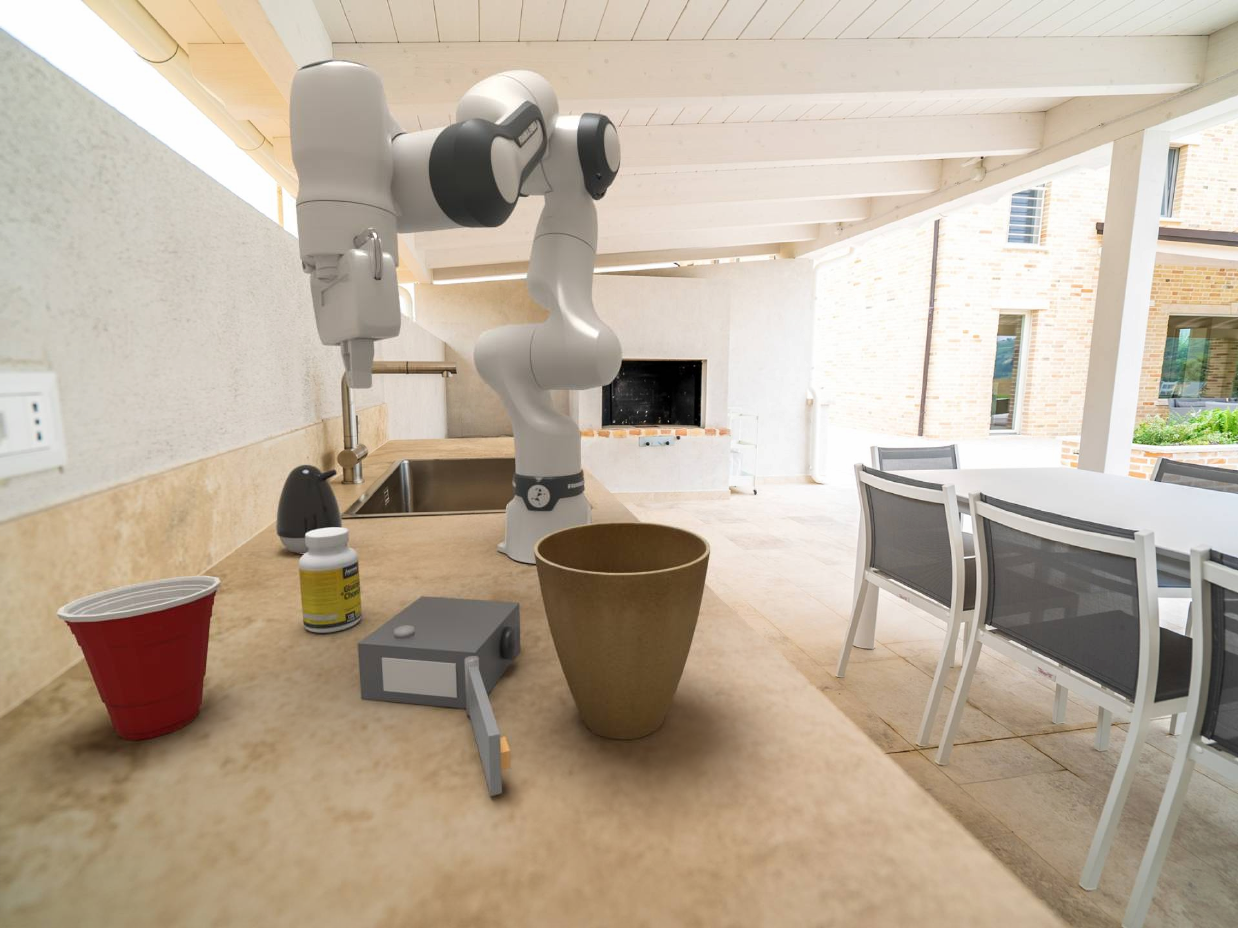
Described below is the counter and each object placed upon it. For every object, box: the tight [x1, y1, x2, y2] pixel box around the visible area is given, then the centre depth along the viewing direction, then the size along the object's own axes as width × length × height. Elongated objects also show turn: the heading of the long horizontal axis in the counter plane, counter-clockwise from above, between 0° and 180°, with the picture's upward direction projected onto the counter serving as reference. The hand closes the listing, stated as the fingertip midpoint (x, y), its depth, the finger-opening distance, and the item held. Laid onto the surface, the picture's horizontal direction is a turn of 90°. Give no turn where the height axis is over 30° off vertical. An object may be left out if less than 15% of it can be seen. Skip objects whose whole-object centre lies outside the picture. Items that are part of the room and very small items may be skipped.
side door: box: [465, 656, 511, 797], centre depth 46 cm, size 2×12×5 cm, turn 22°
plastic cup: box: [56, 575, 221, 741], centre depth 50 cm, size 11×11×12 cm
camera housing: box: [357, 595, 522, 710], centre depth 59 cm, size 12×12×6 cm
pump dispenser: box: [275, 464, 343, 554], centre depth 101 cm, size 10×10×15 cm
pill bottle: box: [298, 527, 363, 634], centre depth 70 cm, size 6×6×12 cm
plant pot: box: [534, 521, 711, 740], centre depth 50 cm, size 15×15×16 cm
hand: (359, 388), depth 59 cm, fingers closed
